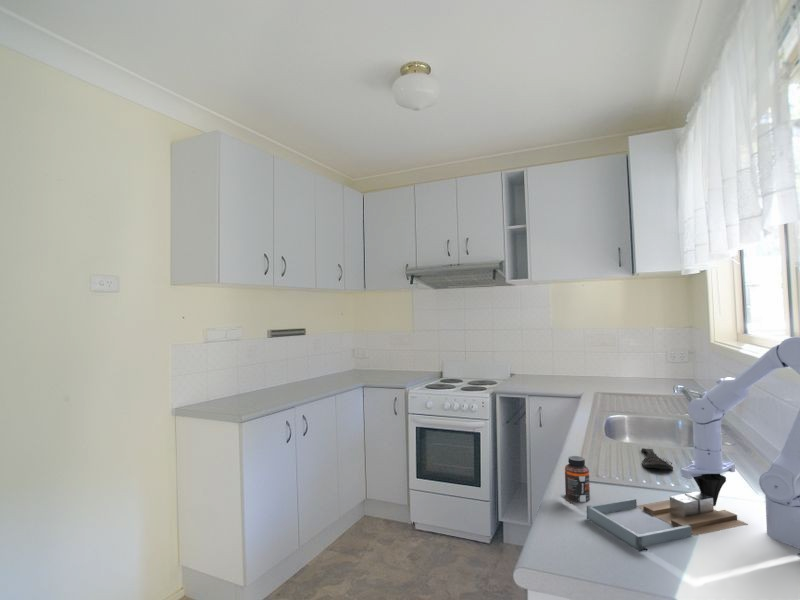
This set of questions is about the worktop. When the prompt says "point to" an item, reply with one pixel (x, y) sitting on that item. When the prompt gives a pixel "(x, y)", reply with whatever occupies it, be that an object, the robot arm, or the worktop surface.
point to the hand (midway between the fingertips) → (709, 504)
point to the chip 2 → (702, 502)
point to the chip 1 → (683, 506)
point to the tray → (627, 535)
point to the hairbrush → (654, 460)
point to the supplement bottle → (577, 480)
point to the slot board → (694, 518)
